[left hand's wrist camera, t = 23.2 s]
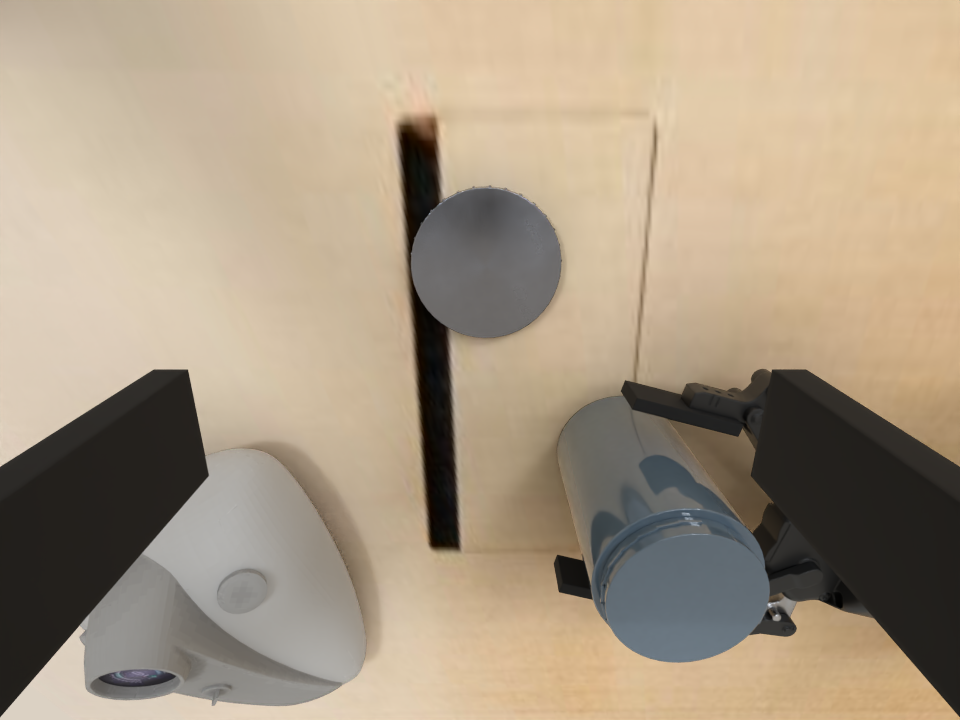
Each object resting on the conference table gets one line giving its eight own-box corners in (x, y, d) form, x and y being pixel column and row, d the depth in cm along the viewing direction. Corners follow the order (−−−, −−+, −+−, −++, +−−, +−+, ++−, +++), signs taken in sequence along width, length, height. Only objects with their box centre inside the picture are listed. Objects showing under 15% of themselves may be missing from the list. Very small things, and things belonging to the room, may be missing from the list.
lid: (530, 161, 34) (532, 160, 32) (578, 302, 37) (582, 308, 35) (389, 219, 35) (384, 221, 33) (446, 351, 38) (445, 359, 36)
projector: (103, 623, 46) (-59, 817, 32) (127, 388, 39) (-70, 510, 25) (355, 682, 48) (304, 888, 34) (423, 470, 41) (392, 623, 27)
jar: (543, 487, 42) (574, 652, 27) (576, 384, 39) (630, 508, 24) (651, 510, 42) (736, 683, 28) (692, 410, 39) (810, 546, 25)
